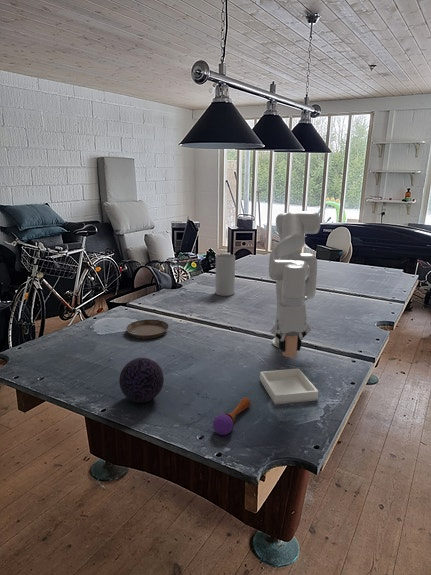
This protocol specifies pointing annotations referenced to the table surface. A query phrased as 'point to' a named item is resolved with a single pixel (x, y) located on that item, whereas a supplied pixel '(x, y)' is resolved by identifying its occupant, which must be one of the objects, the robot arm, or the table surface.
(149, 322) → the plant saucer
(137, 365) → the toy ball
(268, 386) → the tray
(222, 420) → the brown purple handled piece
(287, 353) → the cylinder
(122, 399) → the table surface
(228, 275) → the cylinder vase
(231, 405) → the table surface
